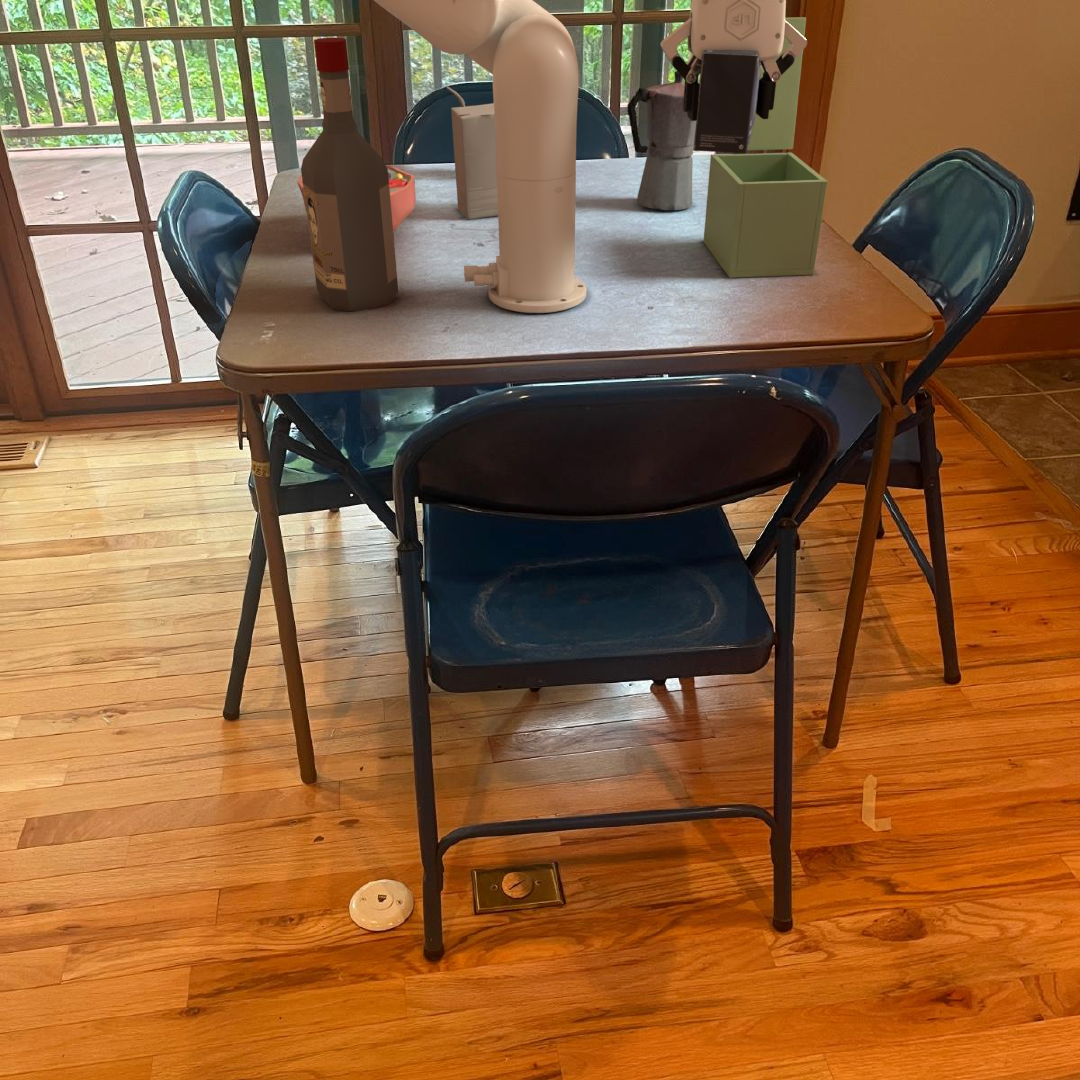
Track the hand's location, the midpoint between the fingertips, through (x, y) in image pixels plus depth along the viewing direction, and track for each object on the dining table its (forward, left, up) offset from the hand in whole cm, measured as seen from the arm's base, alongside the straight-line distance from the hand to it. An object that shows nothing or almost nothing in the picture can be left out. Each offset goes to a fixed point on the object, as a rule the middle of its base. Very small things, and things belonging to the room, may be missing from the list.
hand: (727, 116), depth 117 cm
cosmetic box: (-27, +40, -22) cm, 53 cm away
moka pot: (+2, +41, -22) cm, 46 cm away
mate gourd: (-27, +63, -22) cm, 72 cm away
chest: (+10, +14, -22) cm, 28 cm away
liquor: (-45, +4, -22) cm, 50 cm away
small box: (0, 0, -3) cm, 3 cm away
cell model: (-46, +30, -22) cm, 59 cm away
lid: (+10, +22, -1) cm, 24 cm away
